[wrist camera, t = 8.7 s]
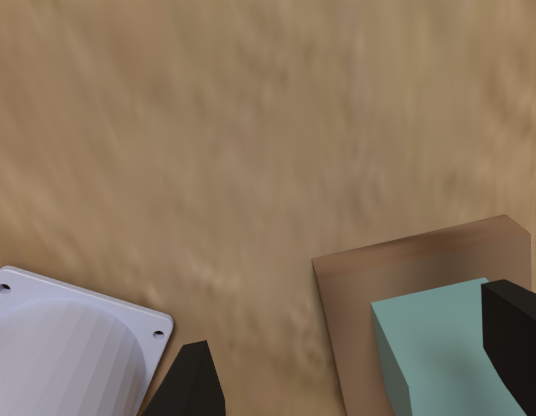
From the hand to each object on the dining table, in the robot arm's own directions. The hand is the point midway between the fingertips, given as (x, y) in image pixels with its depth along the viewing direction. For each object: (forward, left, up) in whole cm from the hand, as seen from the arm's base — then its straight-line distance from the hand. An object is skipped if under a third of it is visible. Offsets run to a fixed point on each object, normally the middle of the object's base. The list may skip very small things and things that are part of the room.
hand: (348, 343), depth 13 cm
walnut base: (-3, -8, -9) cm, 13 cm away
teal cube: (-3, -8, -7) cm, 11 cm away
